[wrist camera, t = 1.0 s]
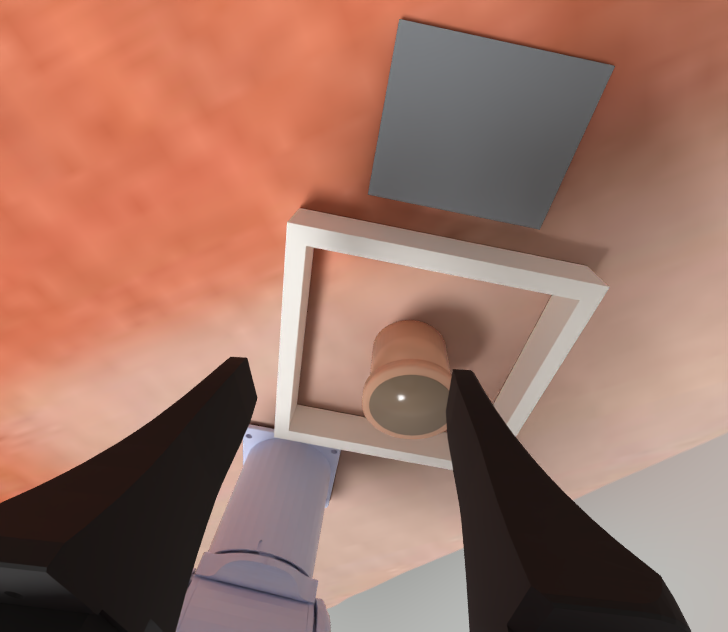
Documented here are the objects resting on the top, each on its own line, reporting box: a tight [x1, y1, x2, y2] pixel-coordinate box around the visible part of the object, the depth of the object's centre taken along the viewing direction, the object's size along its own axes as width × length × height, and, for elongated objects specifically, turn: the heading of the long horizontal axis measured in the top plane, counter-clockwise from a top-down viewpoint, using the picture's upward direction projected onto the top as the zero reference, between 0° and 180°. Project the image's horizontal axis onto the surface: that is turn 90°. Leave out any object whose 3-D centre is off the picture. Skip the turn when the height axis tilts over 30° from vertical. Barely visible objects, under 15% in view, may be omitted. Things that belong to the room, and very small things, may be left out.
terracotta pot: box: [362, 320, 452, 439], centre depth 22 cm, size 5×5×5 cm
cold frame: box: [274, 208, 610, 470], centre depth 23 cm, size 16×16×2 cm
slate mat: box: [368, 19, 615, 230], centre depth 17 cm, size 7×9×1 cm
